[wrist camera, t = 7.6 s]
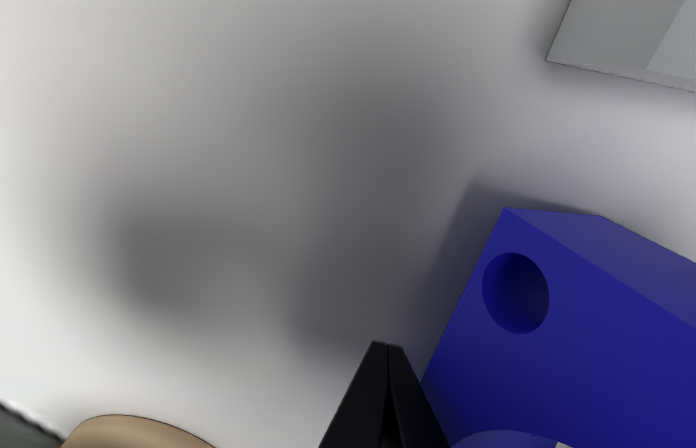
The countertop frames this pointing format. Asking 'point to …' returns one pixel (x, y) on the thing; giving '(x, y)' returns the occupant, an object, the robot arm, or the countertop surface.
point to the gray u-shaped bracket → (631, 40)
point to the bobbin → (129, 434)
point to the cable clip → (569, 340)
